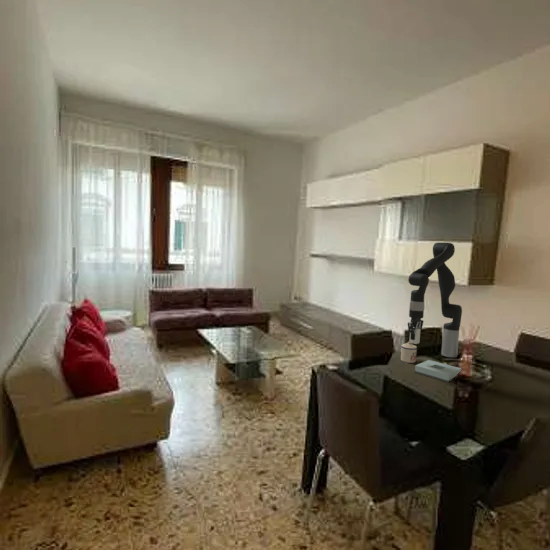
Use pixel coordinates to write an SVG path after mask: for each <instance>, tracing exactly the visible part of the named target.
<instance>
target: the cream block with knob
mask: <svg viewBox="0 0 550 550" xmlns="http://www.w3.org/2000/svg"><path fill="white" fill-rule="evenodd" d="M413 328H415V327H413ZM410 330H411V329H410ZM413 330H414V329H413ZM420 338H421V331H420V329H418V328H417V329H416V331H415V340H411V333H410V332H409V338H408V339H409V340H408V342H410V343H411V344H413V345H414V344H415V345H418V344H420V340H421V339H420Z"/></svg>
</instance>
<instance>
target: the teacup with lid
mask: <svg viewBox="0 0 550 550" xmlns="http://www.w3.org/2000/svg"><path fill="white" fill-rule="evenodd" d="M400 347H401V348H400V349H401V350H400V360H401V362H404V363H407V364H409V363H410V364H414V363H416V361H417V352H418V351H417V350H418V347H417V345H416V344H415V345H414V343H410V342H409V341H407V342H406V343H403V344H401V345H400Z"/></svg>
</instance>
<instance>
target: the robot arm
mask: <svg viewBox="0 0 550 550" xmlns="http://www.w3.org/2000/svg"><path fill="white" fill-rule="evenodd" d="M455 249H456V247H455V244H454V243H451V242H435V243H434V244H433V246H432V254H433V257H432V258H430V259H428V260H427V261H425V262H424V263H423V264H422V265H421V266H420V267H419V268H418V269H416V270H414V271H413V272H412V273H410V275H409V276H408V279H407V280H408V283H409V285H411V286H416V287H418V289H413V290H411V292H410V301H409V310H408V316H409V318H411V319H410V322H409V321H408V322H407V330H408V332H409V334H410V333H411V340H415V331H416V329H417V328H418V329H420V332H421V331H423V327H424V320H422V319H423V318H424V314H425V295H426V294H425V293H426V291H427V287H428V285H429V283H430V277H431V276H432V275H433V274H434V273H435V272H436V274H437V281H438V289H439V293H440V304H441V306H440V307H441V309H440V310H441V314H442V316H443V317H444V318H447V319H451V322H446V323H444V324H443V326H442V327H443V328H442V341H441V354H440V355H441V356H444V357H447V358H457V357H458V352H459V351H458V349H459V338H460V326H461V321H462V315H463V309H462V305H460V304H454V303H450V296H451V295H452V293H453V291H454V290H455V288H456V280H455V279H456V278H455V275H454V273H453V272H452V270H451V269H450V268H449V267H448V266H447V264H446V262H447V261H448V260H450V259H451V258H452V257H453V256H454V254H455V251H456V250H455ZM413 327H415V328H413ZM410 329H411V330H410ZM413 329H414V330H413Z"/></svg>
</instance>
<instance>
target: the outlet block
mask: <svg viewBox="0 0 550 550" xmlns="http://www.w3.org/2000/svg"><path fill="white" fill-rule="evenodd" d="M460 371H461V372H462V368H461V367H457V366H453V365H449V364H445V363H441V362H438V361H435V360H431V359H427V360H425V361H423V362H421V363H418V364H416V365H415V366H414V373H415V374H419V375H422V376H426V377H429V378H433V379H436V380H439V381H442V382H444V383H450V382H451V380H452V379H453V378H454V377H455V376H456V375H457V374H458V373H459V372H460ZM449 381H450V382H449ZM452 381H453V380H452Z"/></svg>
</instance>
